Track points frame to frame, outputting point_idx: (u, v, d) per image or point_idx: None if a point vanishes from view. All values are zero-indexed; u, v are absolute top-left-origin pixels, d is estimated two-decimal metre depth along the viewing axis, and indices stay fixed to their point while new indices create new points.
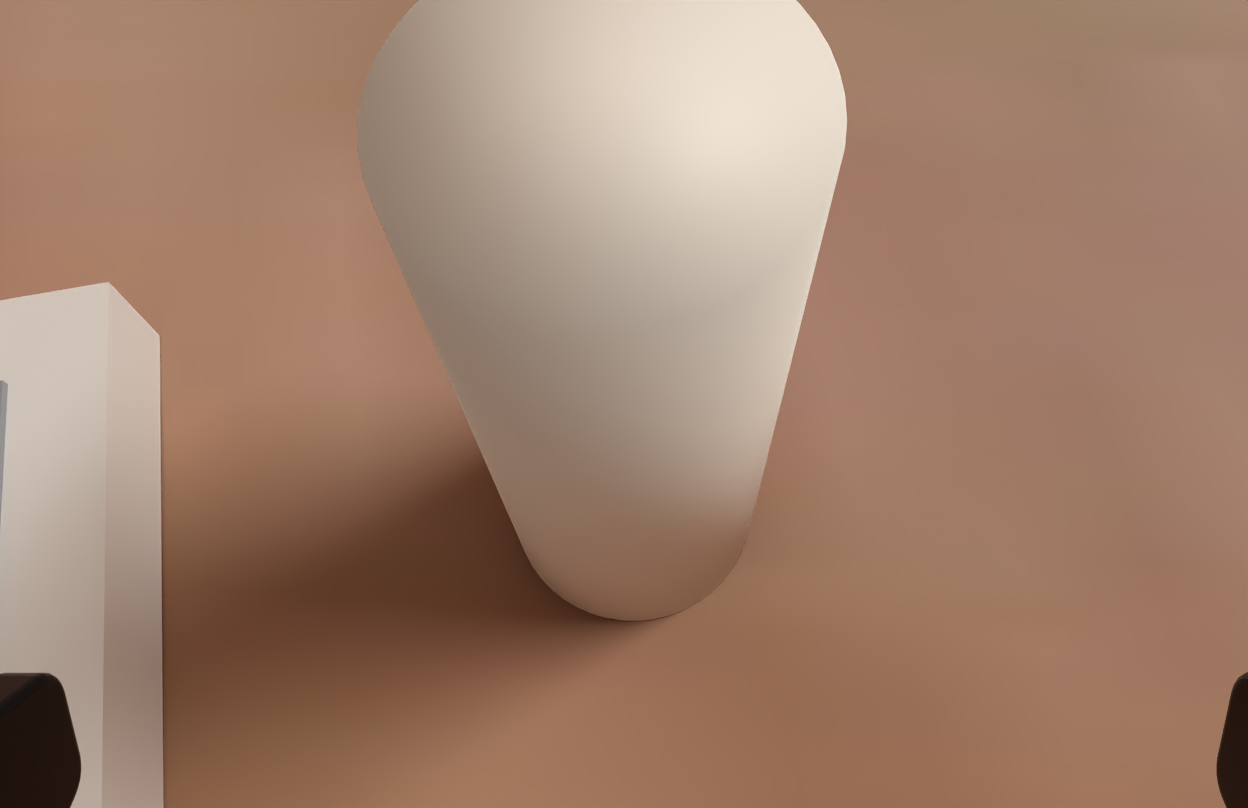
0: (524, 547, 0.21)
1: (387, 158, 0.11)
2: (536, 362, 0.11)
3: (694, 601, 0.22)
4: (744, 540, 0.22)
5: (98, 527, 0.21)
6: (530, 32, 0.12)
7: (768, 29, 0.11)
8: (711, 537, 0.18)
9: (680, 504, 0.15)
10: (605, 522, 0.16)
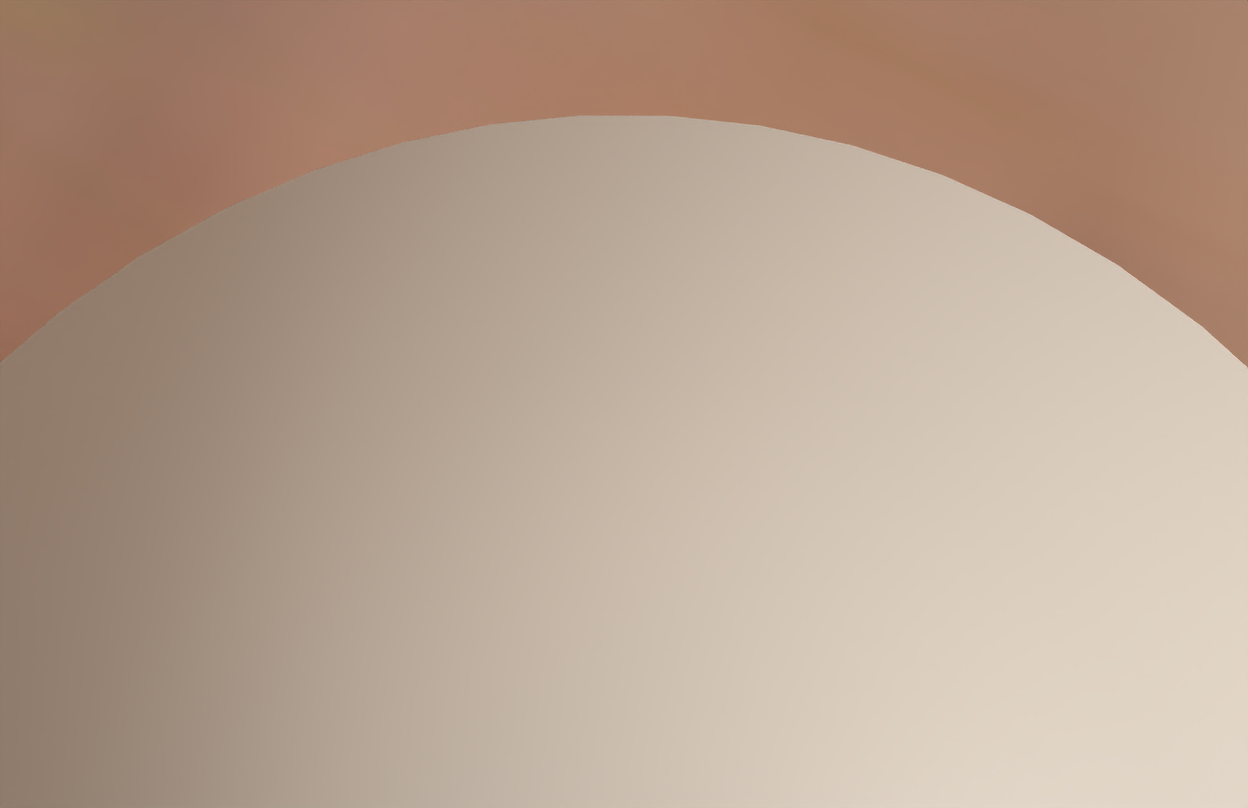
0: None
1: None
2: None
3: None
4: None
5: None
6: (356, 497, 0.03)
7: (1196, 508, 0.03)
8: None
9: None
10: None
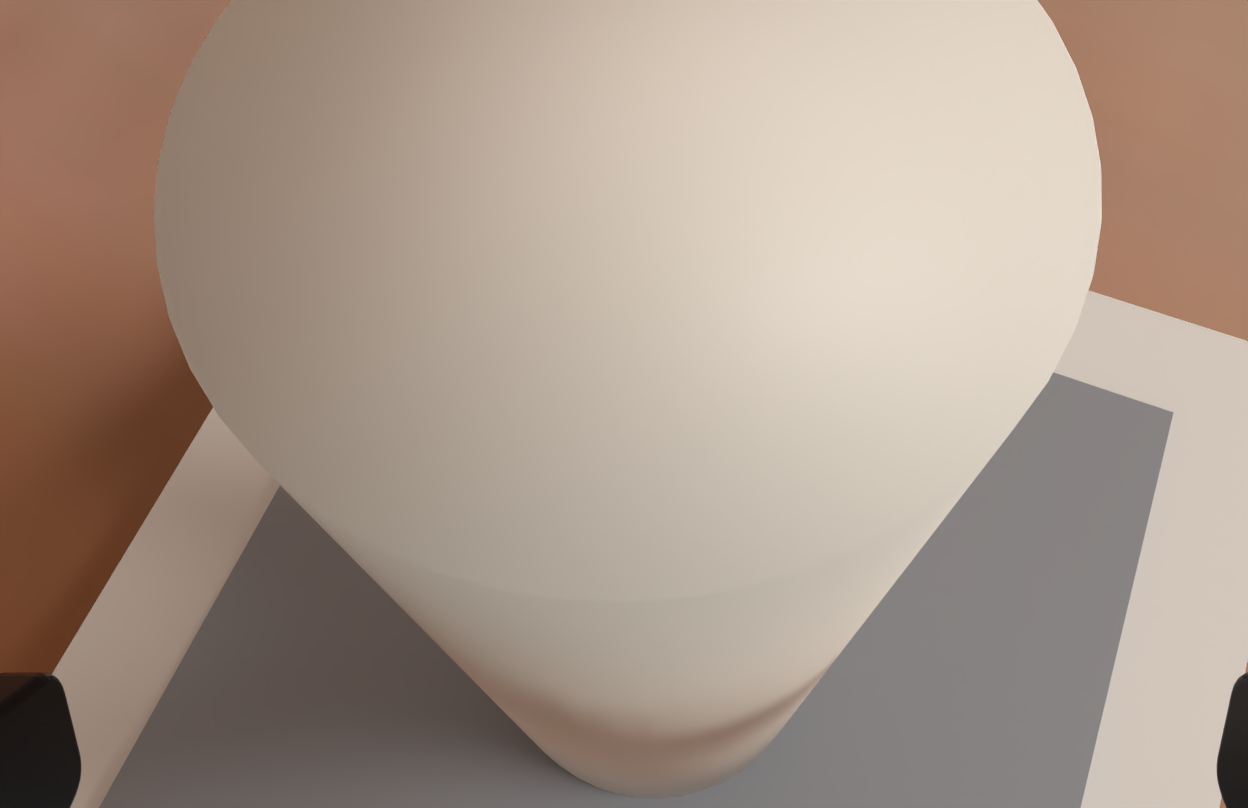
0: None
1: (208, 230, 0.06)
2: (495, 625, 0.06)
3: (732, 774, 0.17)
4: None
5: (1243, 635, 0.18)
6: None
7: None
8: (767, 733, 0.13)
9: (732, 730, 0.10)
10: (617, 749, 0.10)
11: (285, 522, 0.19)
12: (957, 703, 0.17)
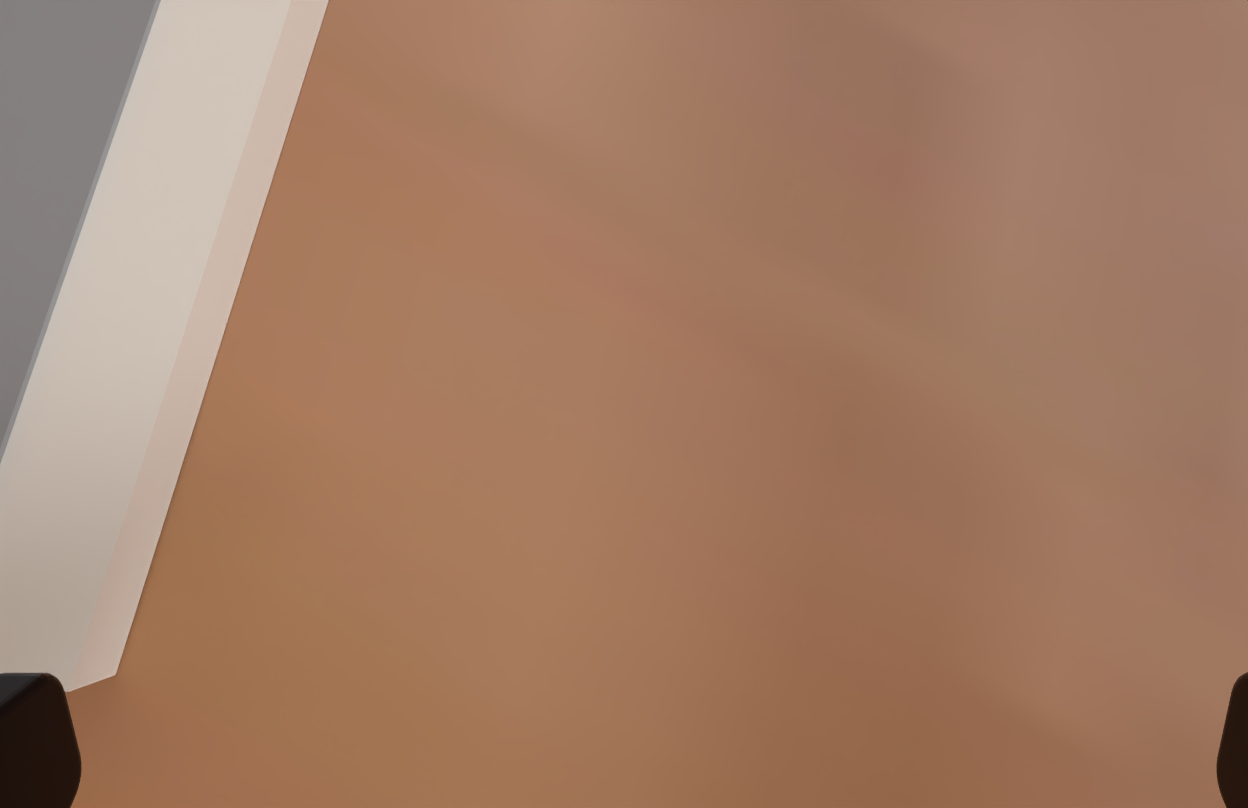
0: None
1: None
2: None
3: None
4: None
5: None
6: None
7: None
8: None
9: None
10: None
11: None
12: None
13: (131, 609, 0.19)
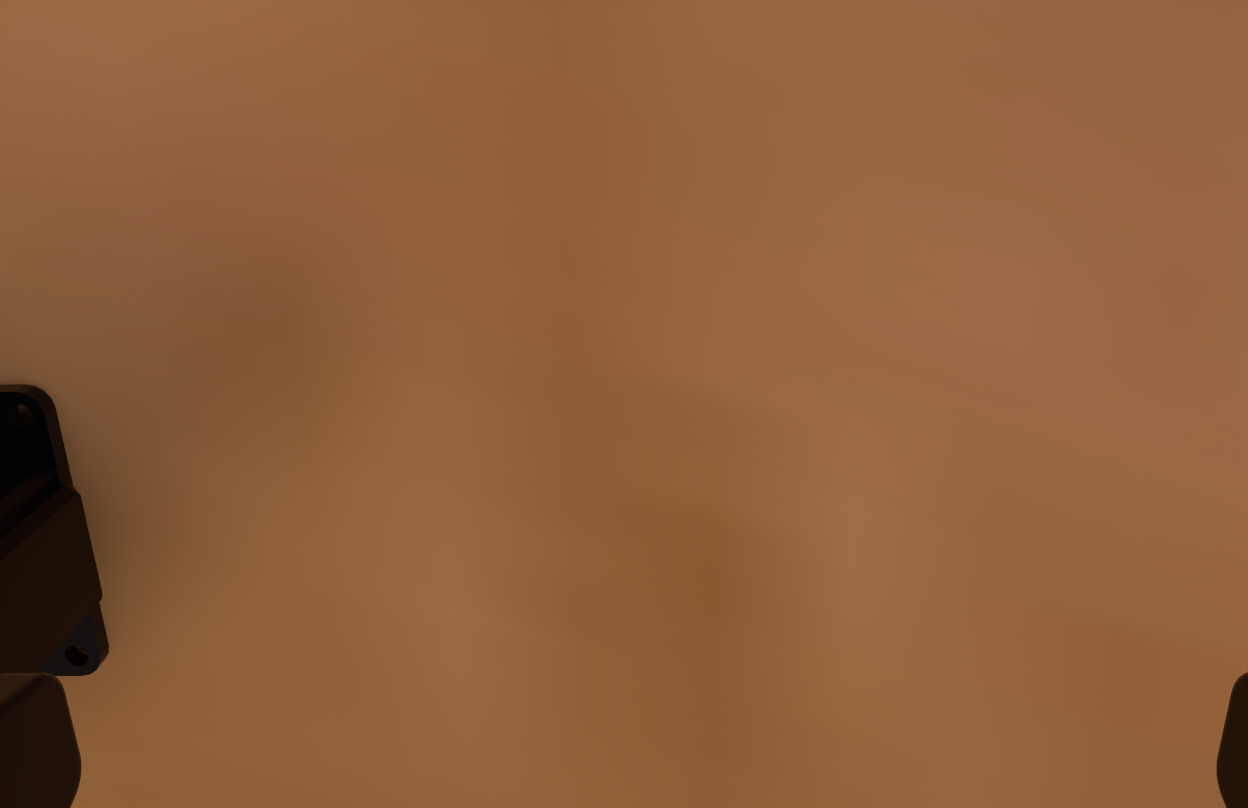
0: None
1: None
2: None
3: None
4: None
5: None
6: None
7: None
8: None
9: None
10: None
11: None
12: None
13: None
